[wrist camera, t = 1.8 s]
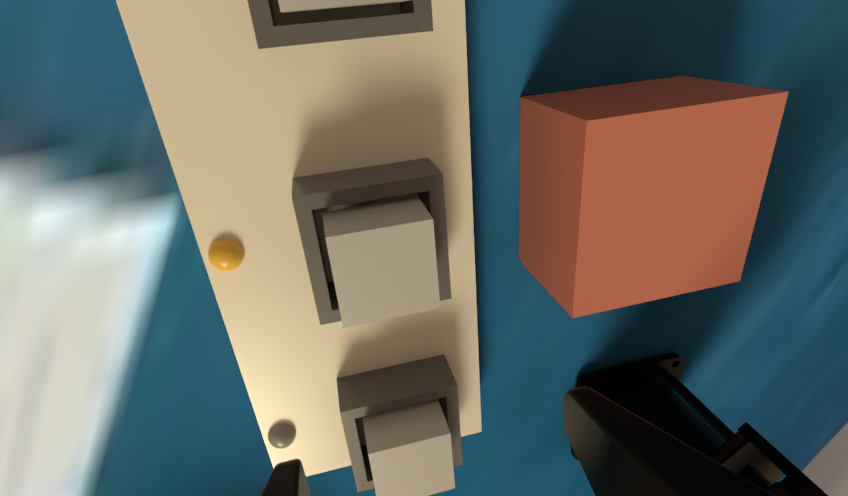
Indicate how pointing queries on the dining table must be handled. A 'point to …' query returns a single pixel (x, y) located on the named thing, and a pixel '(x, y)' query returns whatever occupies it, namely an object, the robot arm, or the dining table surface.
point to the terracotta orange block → (642, 187)
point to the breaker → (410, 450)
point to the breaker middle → (382, 260)
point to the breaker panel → (320, 200)
